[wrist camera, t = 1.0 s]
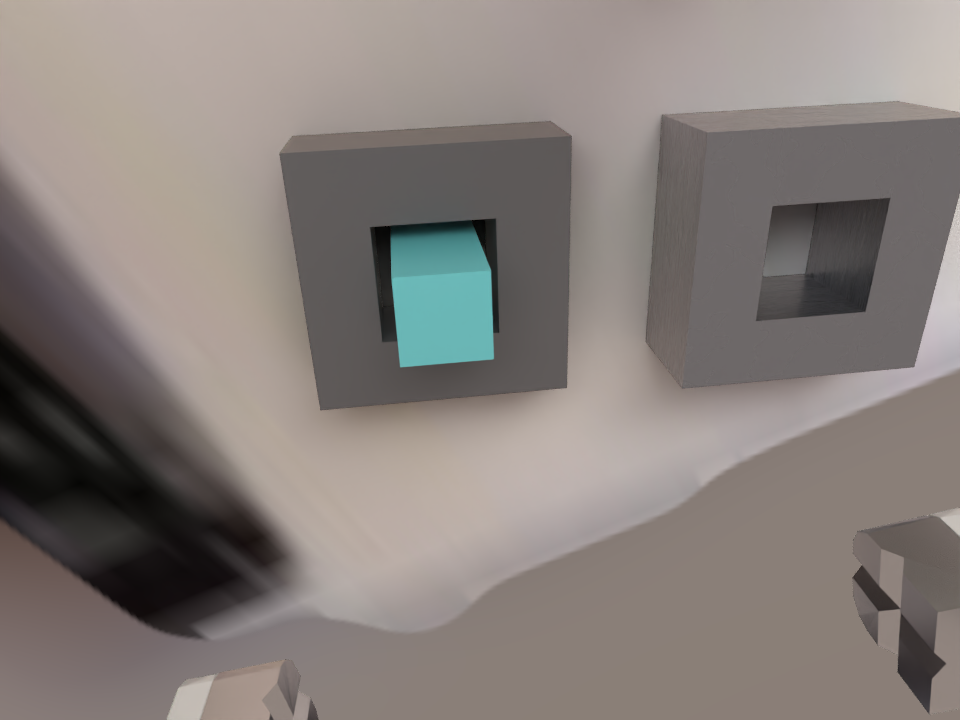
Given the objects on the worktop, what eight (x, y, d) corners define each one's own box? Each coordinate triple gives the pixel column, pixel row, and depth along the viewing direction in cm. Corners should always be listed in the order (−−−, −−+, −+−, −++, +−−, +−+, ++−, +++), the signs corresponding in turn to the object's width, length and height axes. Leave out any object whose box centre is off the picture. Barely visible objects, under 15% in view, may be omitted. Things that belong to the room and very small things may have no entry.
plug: (397, 291, 34) (400, 367, 26) (390, 217, 32) (391, 278, 25) (471, 285, 34) (493, 359, 27) (468, 212, 32) (490, 270, 25)
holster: (327, 369, 35) (320, 410, 31) (292, 135, 30) (279, 153, 26) (548, 350, 36) (566, 387, 32) (550, 121, 31) (571, 136, 27)
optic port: (645, 341, 36) (682, 388, 32) (662, 114, 31) (708, 132, 27) (850, 324, 37) (914, 366, 33) (898, 101, 32) (980, 116, 28)
